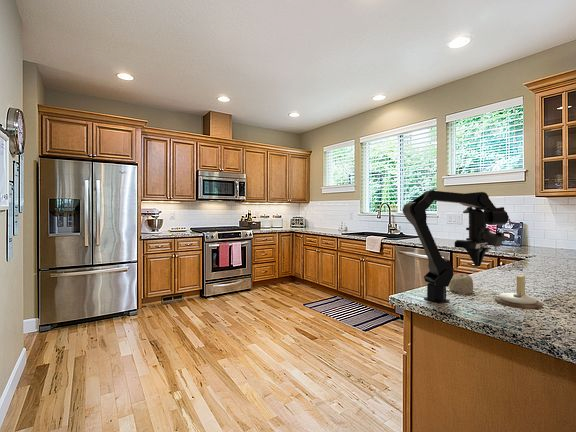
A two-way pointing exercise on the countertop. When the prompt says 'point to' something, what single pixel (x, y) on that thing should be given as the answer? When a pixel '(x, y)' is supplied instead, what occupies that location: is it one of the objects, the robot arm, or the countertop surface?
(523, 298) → the dial
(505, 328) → the countertop surface
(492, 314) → the countertop surface
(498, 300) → the base
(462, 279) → the sponge
